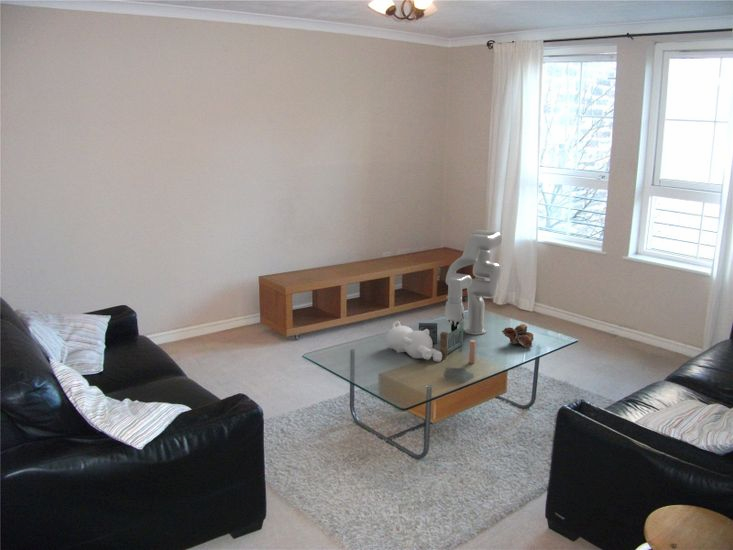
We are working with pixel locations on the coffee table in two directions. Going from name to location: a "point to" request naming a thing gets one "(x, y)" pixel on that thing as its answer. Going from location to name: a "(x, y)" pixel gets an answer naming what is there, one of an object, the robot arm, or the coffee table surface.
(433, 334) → the small box
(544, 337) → the coffee table surface
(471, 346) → the post
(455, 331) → the gate
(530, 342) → the seed pod
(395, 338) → the teddy bear
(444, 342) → the gate post
